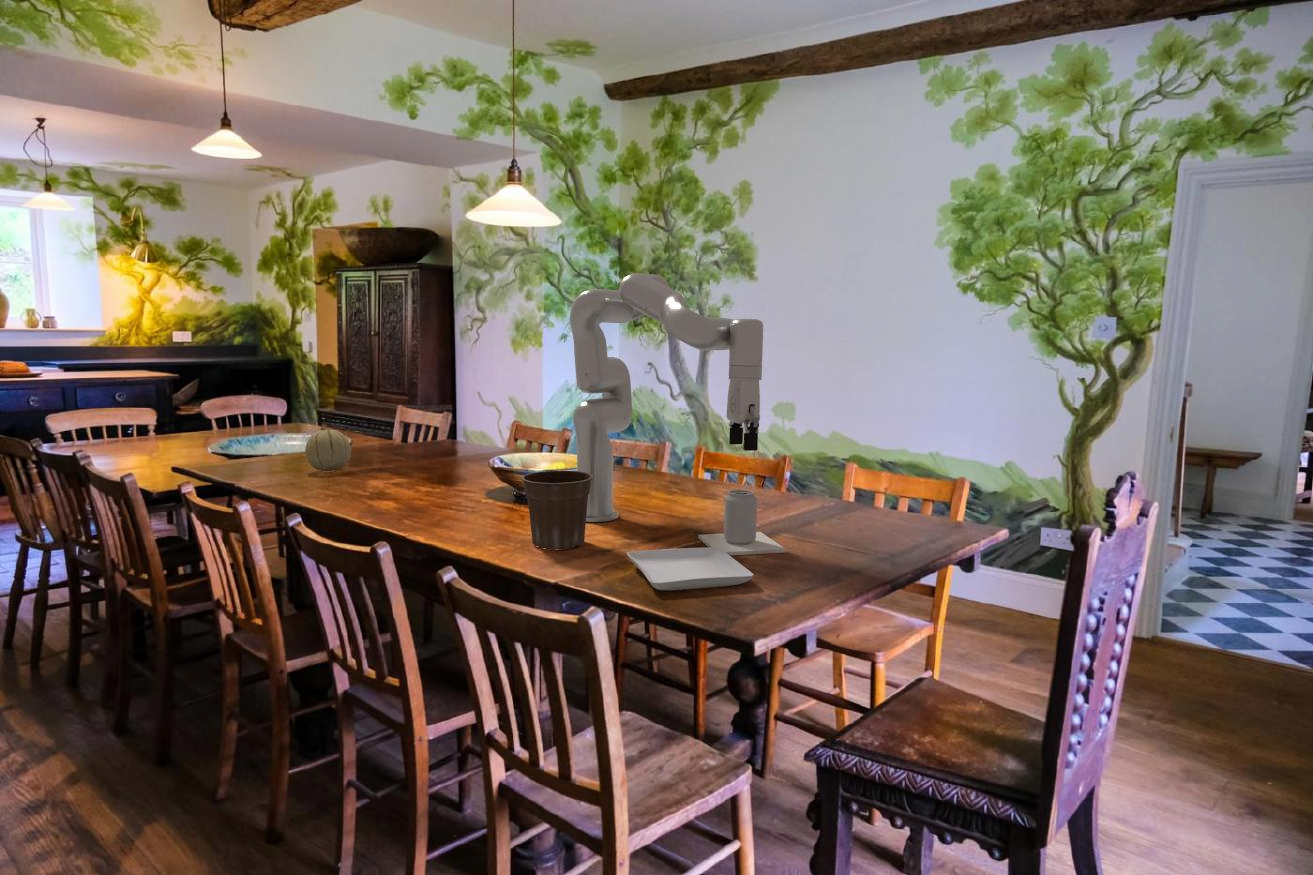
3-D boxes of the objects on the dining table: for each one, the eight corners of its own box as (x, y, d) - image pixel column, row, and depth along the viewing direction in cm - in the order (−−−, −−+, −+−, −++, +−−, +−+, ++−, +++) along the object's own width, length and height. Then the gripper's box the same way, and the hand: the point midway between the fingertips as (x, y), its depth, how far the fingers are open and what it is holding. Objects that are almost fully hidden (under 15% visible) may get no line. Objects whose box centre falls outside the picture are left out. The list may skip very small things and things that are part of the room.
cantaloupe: (330, 477, 268) (328, 432, 266) (296, 473, 273) (294, 429, 271) (361, 470, 282) (360, 427, 280) (328, 466, 287) (326, 424, 285)
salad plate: (756, 590, 159) (756, 573, 158) (652, 598, 153) (652, 581, 153) (717, 560, 179) (718, 545, 179) (624, 566, 173) (624, 551, 173)
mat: (718, 556, 181) (719, 552, 181) (698, 538, 196) (698, 534, 196) (785, 552, 185) (785, 548, 185) (760, 534, 200) (760, 531, 200)
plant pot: (526, 555, 179) (525, 483, 177) (518, 537, 195) (518, 471, 193) (598, 551, 184) (598, 481, 182) (585, 533, 199) (585, 469, 197)
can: (755, 538, 194) (757, 488, 192) (756, 546, 187) (757, 495, 185) (724, 536, 195) (725, 487, 193) (723, 544, 187) (724, 494, 186)
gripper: (717, 371, 193) (716, 442, 195) (742, 375, 176) (740, 453, 179) (747, 371, 195) (745, 441, 197) (774, 375, 178) (772, 452, 180)
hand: (742, 447), depth 188 cm, fingers open, 9 cm apart
